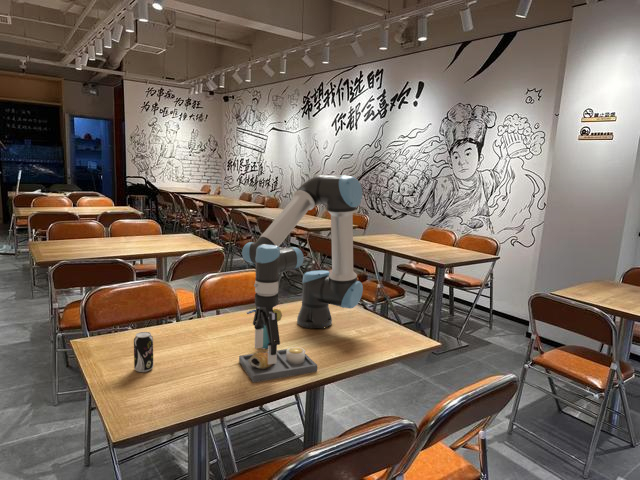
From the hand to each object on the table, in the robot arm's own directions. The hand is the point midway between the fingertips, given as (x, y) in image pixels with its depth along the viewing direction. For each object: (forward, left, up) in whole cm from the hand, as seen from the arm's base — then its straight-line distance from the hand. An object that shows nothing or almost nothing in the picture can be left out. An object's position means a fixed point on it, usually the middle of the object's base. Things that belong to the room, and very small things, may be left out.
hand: (265, 355), depth 146 cm
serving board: (0, +4, -5) cm, 7 cm away
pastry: (0, -1, -3) cm, 3 cm away
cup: (-18, +6, -5) cm, 19 cm away
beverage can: (-13, -36, -5) cm, 39 cm away
